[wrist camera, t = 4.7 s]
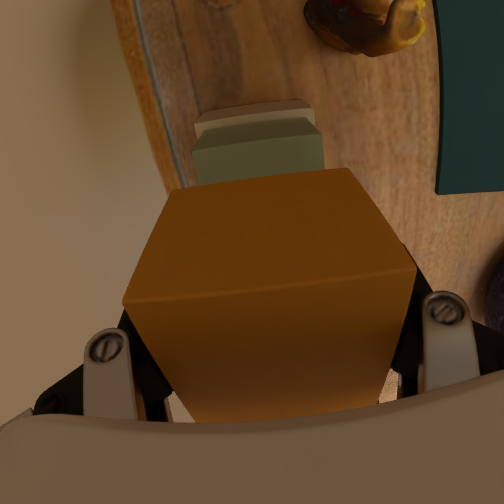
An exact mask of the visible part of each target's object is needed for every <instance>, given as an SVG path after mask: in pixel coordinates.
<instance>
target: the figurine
mask: <svg viewBox="0 0 504 504" xmlns="http://www.w3.org/2000/svg"><path fill="white" fill-rule="evenodd" d="M425 6H426V3H425V0H308V1H307V2H306V4H305V6H304V17H305V20H306V22H307V24H308V25H309V27H310V28H311V29H312V30H313V31H314V32H315V33H316V34H317V35H318V36H319V37H320V38H321V39H322V40H324V41H325V42H326V43H328V44H329V45H331V46H332V47H334V48H336V49H339V50H341V51H345V52H349V53H351V54H353V55H358V54H359V53H363V54H365V55H366V56H368V57H376V56H381V55H385V54H389V53H393V52H396V51H398V50H401V49H403V48H406V47H408V46H411V45H412V44H414V43H415V42H416V41H417V40H418V39H419V38H420V37H421V36H422V34H423V33H424V30H425V23H424V21H423V20H422V18H421V16H420V11H421V10H422V9H423V8H424V7H425Z"/></svg>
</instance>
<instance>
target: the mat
mask: <svg viewBox="0 0 504 504" xmlns="http://www.w3.org/2000/svg"><path fill="white" fill-rule="evenodd" d="M433 6H434V13H435V21H436V30H437V40H438V52H439V69H440V136H439V153H438V167H437V177H436V187H435V193H436V194H437V195H446V194H461V193H477V192H495V191H504V0H433Z"/></svg>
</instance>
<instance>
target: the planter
mask: <svg viewBox="0 0 504 504" xmlns="http://www.w3.org/2000/svg"><path fill="white" fill-rule="evenodd" d="M484 318H485V324H486V327H489V328H491V329H493V330H495V331H498V332H500V333H502V334H504V259H503V261H502V262H501V263H500V265H499V266H498V267H497V269H496V271H495V272H494V274H493V276H492V278H491V280H490V282H489V285H488V288H487V291H486V296H485V301H484Z"/></svg>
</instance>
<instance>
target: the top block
mask: <svg viewBox="0 0 504 504" xmlns="http://www.w3.org/2000/svg"><path fill="white" fill-rule="evenodd" d="M416 272H417V267H416V265H415V263H414V262H413V260H412V258H411V257H410V255H409V254H408V252H407V250H406V249H405V247H404V246H403V244H402V243H401V241H400V240H399V238H398V237H397V235H396V234H395V232H394V231H393V229H392V228H391V226H390V225H389V223H388V222H387V220H386V219H385V217H384V216H383V215H382V213H381V212H380V210H379V209H378V207H377V206H376V205H375V203H374V202H373V201H372V199H371V198H370V196H369V195H368V194H367V192H366V191H365V190H364V188H363V187H362V186H361V184H360V183H359V182H358V180H357V179H356V178H355V176H354V175H353V174H352V172H351V171H350V170H349V169H348V168H337V169H326V170H316V171H306V172H297V173H288V174H279V175H271V176H263V177H255V178H248V179H240V180H233V181H226V182H220V183H213V184H207V185H200V186H194V187H188V188H182V189H177V190H173V191H172V192H171V194H170V196H169V198H168V200H167V202H166V204H165V206H164V208H163V210H162V212H161V214H160V216H159V218H158V221H157V223H156V225H155V227H154V229H153V231H152V233H151V235H150V237H149V239H148V242H147V244H146V246H145V248H144V250H143V253H142V255H141V257H140V260H139V262H138V264H137V266H136V268H135V271H134V273H133V275H132V278H131V280H130V283H129V285H128V287H127V290H126V292H125V295H124V297H123V300H122V304H123V306H124V308H125V310H126V312H127V314H128V315H129V317H130V319H131V321H132V323H133V324H134V326H135V328H136V330H137V332H138V333H139V335H140V337H141V338H142V340H143V342H144V344H145V345H146V347H147V349H148V350H149V352H150V354H151V355H152V357H153V359H154V360H155V362H156V364H157V365H158V367H159V368H160V370H161V372H162V373H163V375H164V376H165V378H166V379H167V381H168V382H169V384H170V386H171V387H172V389H173V390H174V391H175V393H176V395H177V396H178V398H179V399H180V400H181V402H182V403H183V405H184V406H185V408H186V409H187V411H188V412H189V413H190V415H191V416H192V418H193V419H194V420H195V422H196V423H216V422H244V421H260V420H273V419H284V418H293V417H302V416H310V415H317V414H324V413H331V412H337V411H343V410H349V409H355V408H360V407H365V406H371V405H375V404H377V401H378V399H379V396H380V394H381V391H382V388H383V386H384V383H385V380H386V377H387V374H388V372H389V369H390V366H391V363H392V360H393V357H394V354H395V351H396V347H397V344H398V341H399V338H400V334H401V331H402V327H403V324H404V320H405V317H406V313H407V309H408V306H409V302H410V298H411V294H412V290H413V285H414V281H415V277H416Z"/></svg>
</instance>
